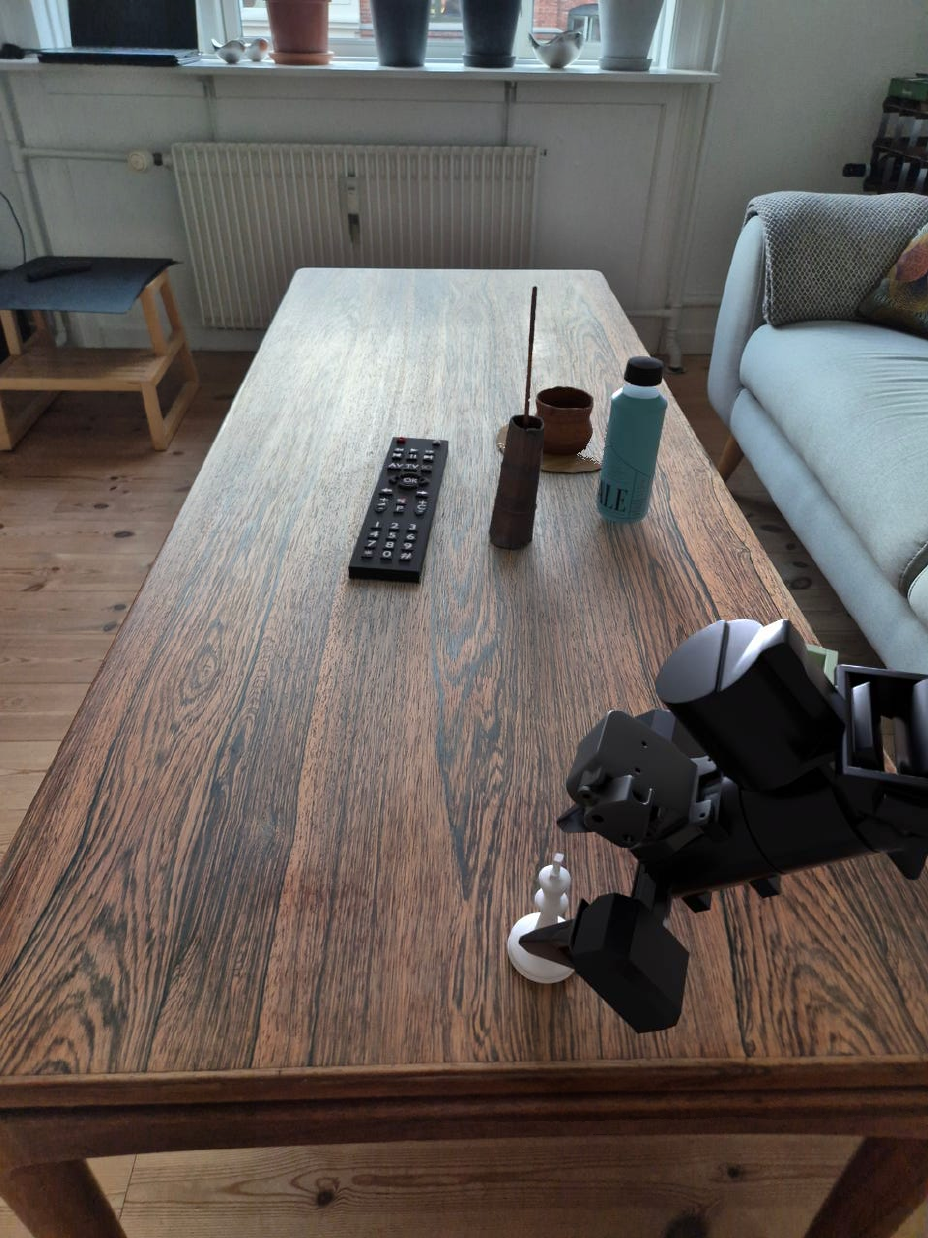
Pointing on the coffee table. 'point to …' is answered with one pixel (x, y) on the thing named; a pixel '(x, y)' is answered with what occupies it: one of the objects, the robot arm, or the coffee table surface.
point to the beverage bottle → (632, 443)
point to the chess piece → (542, 925)
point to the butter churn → (519, 469)
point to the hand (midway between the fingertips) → (543, 881)
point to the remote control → (401, 512)
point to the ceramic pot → (563, 429)
